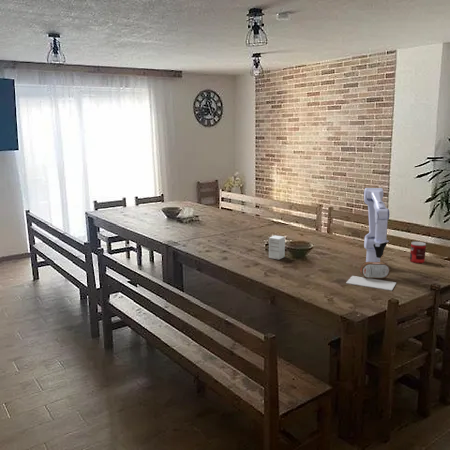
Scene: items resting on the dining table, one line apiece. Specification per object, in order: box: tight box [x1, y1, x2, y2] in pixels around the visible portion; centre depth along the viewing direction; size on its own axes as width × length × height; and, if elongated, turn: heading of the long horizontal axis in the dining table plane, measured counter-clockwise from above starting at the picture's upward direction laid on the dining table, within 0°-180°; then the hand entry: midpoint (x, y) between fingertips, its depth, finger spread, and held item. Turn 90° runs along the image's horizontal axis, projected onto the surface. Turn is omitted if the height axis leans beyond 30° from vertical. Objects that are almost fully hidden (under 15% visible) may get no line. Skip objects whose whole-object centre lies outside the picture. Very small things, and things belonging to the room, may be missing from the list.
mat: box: [345, 275, 397, 292], centre depth 225 cm, size 12×22×1 cm, turn 60°
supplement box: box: [268, 235, 286, 260], centre depth 270 cm, size 7×7×13 cm
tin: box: [359, 261, 391, 280], centre depth 232 cm, size 15×3×8 cm, turn 92°
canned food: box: [409, 241, 427, 264], centre depth 259 cm, size 8×8×11 cm
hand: (379, 256), depth 238 cm, fingers open, 3 cm apart
